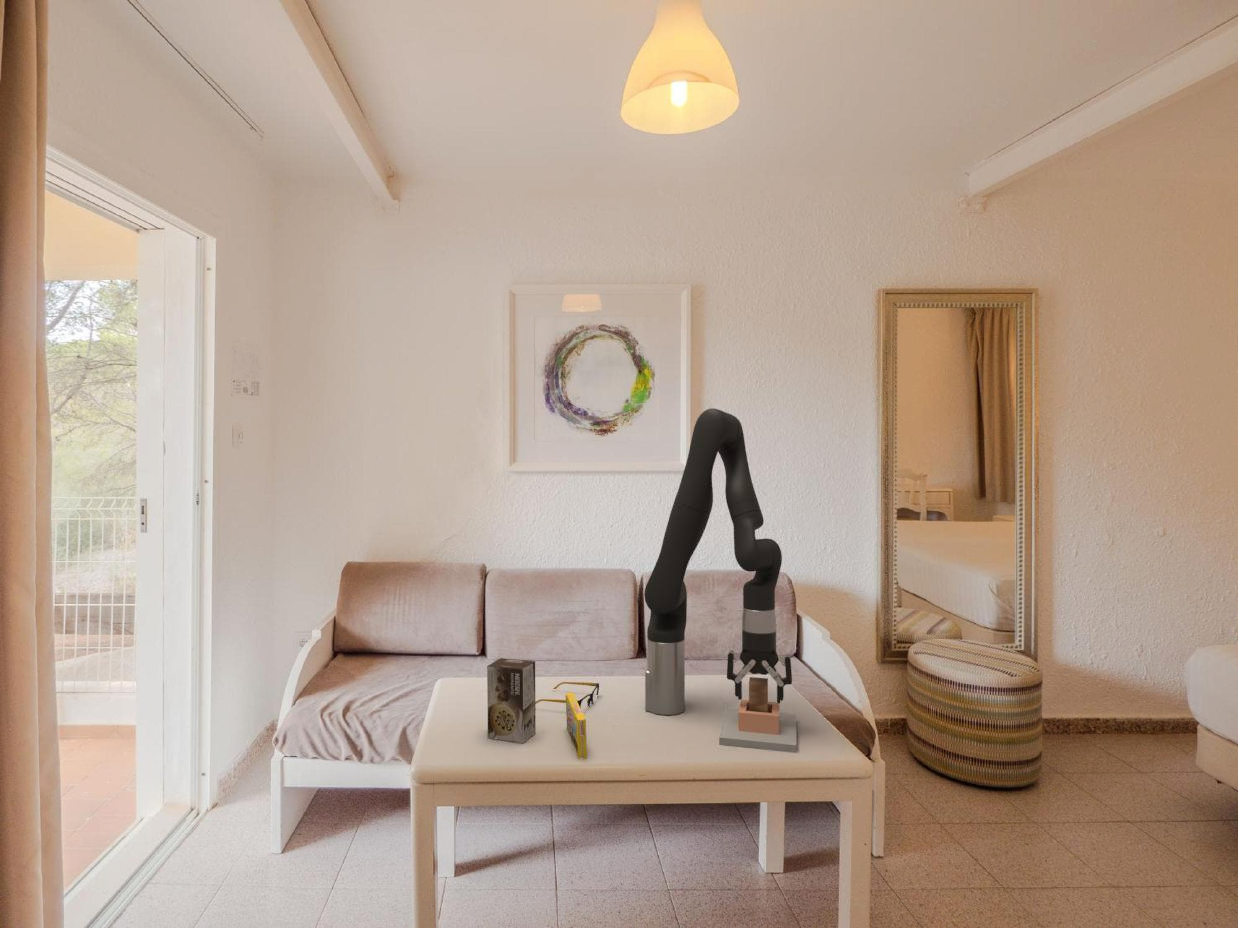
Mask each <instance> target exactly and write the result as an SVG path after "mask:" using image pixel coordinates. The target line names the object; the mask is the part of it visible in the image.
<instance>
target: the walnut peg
mask: <svg viewBox="0 0 1238 928" xmlns="http://www.w3.org/2000/svg"><path fill="white" fill-rule="evenodd" d="M748 700H749V711H754V712H765V713H768V702H769V678H767V677H756V676H754V677H753V676H750V677H749V679H748Z"/></svg>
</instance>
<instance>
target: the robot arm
mask: <svg viewBox="0 0 1238 928" xmlns="http://www.w3.org/2000/svg"><path fill="white" fill-rule="evenodd" d="M744 435H745V434H744V429H743V425H742V423H741V421H740V420H739V419H738V417H737V416H735V415H733V414H731V413H728V412H726V411H723V410H721V409H718V408H708V409H706V410H704V411H702V412H701V413H700V414H699V416H698V418H697V419H696V421H695V424H694V427H693V430H692V437H691V441H690V446H689V449H688V455H687V459H686V463H685V466H684V470H683V473H682V476H681V479H680V483H679V486H678V489H677V492H676V495H675V498H674V501H673V504H672V507H671V510H670V513H669V517H668V520H667V524H666V528H665V533H664V536H663V539H662V544H661V547H660V548H661V549H660V552H659V555H658V558H657V560H656V562H655V564H654V568H653V570H652V572H651V574H650V575H649V578H648V580H647V583H646V585H645V587H644V594H643V595H644V601H645V604H646V606H647V607H648V609H649V610H650V616H649V622H648V626H647V632H646V636H647V637H646V639H647V642H646V645H647V649H646V651H647V656H646V658H647V659H646V660H647V661H646V662H647V668H646V670H645V675H644V678H645V679H644V680H645V682H644V685H645V686H644V688H645V689H644V690H645V691H644V692H645V695H644V697H645V700H644V701H645V702H644V703H645V704H644V705H645V707H644V708H645V712H651V713H653V714H657V715H661V716H663V715H664V716H672V715H679V714H681V713H684V711H685V710H686V709H685V705H686V704H685V703H686V700H685V698H686V696H685V692H686V690H685V689H686V687H685V686H686V683H685V682H686V681H685V679H686V678H685V677H686V676H685V675H686V674H685V673H686V671H685V669H686V667H685V665H686V662H685V661H686V659H685V657H686V656H685V653H686V652H685V644H686V643H685V632H686V626H687V613H688V612H687V611H688V610H687V607H688V605H687V603H688V600H687V599H688V597H687V596H688V594H687V593H688V592H687V591H688V590H687V586H686V583H685V581H684V578H685V575H686V571H687V568H688V566H689V563H690V560H691V558H692V556H693V554H694V553H695V550H696V549H697V546H698V545H699V544H700V541H701V539H702V537H703V535H704V533H705V530H706V528H707V525H708V522H709V519H710V516H711V513H712V509H713V505H714V504H713V503H714V492H713V491H714V489H713V488H714V487H713V469H714V465H715V462H716V458H717V455H718V454H719V456H720V458H721V461H722V463H723V468H724V471H725V500H726V506H727V509H728V513H729V516H730V520H731V522H732V526H733V552H734V557H735V560H736V562H737V564H738V565H739V567H740V568H741V569H742V570H743V571H746V572H755V574H754V576H753V578H751V579H750V580H748V581H746V582H745V583H744V585H743V587H742V588H743V589H742V602H743V603H742V606H743V607H742V615H741V631H742V632H741V652H734V650H730V651H729V652H728V654H727V668H726V678H727V680H729V681H732V682H734V696H735V697H737V699H738V700H739V701H741V699H742V698H743V697H742V696H743V690H742V689H743V685H742V682H743V681H742V680H743V679H744V678H745V677H746V675H748V673H751V674H752V675H757V674H758V675H759V674H760V675H763V676H766V675H768V674H769V675H770V677H771V679H773V680H774V681H775V683H776V703H779V704H781V701H783V700H784V694H785V693H784V687H785V686H787V685H792V683H793V675H792V662H791V661H792V660H791V659H792V658H791V655H790V654H785V655H778V652H777V627H778V625H777V617H776V606H775V605H776V597H775V596H776V591H775V590H776V588H777V583H778V580H779V576H780V571H781V568H782V563H783V554H782V550H781V547H780V545H779V544H778V542H777V541H775V540H774V539H772V538H758V539H757V537H756V530H758V529H760V528H761V527H762V526H763V525H764V515H763V513H762V510H761V507H760V504H759V500H758V497H757V494H756V491H755V488H754V485H753V480H752V476H751V472H750V467H749V461H748V455H747V454H748V453H747V449H746V443H745V442H746V441H745V436H744ZM738 659H740V661H741V662H742V664H743V666H742V667H741V668H740V670H739V671H738V672H737V673H735V672H734V665H735V663H736V662H737V661H738ZM778 662H780V664H781V665H782V667H785V677H782V676H781V674H780V672H779V671H778V670H777V668H776V666H777V664H778ZM742 700H743V699H742Z"/></svg>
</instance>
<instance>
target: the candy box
mask: <svg viewBox="0 0 1238 928" xmlns="http://www.w3.org/2000/svg"><path fill="white" fill-rule="evenodd" d="M565 700H566V703H565V712H566V713H565V714H566V715H565V716H566V717H565V718H566V729H567V731H568V734H569V736H570V739H571V742H572V745H573V747H574V749H576V750H575V752H576V754H578V755H577V757H578V759H579V760H581V759H580V758H585V759H587V758H588V748H587V746H588V744H587V721H586V719H587V718H586V717H585V714H584V712H583V711H582V710H583V709H581V708H580V706H579V704H578V702H577V701H578V700H577V698H576V696H575V694H574V692H570V693H569V692H568V693H566V694H565Z"/></svg>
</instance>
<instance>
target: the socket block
mask: <svg viewBox="0 0 1238 928" xmlns="http://www.w3.org/2000/svg"><path fill="white" fill-rule="evenodd" d="M738 708H739V709H738ZM738 708H726V711H725V715H724V719H723V723H722V726H721V730H720V732H719V738H718V741H719V742H718V744H719V745H721V746H722V745H723V746H730V747H731V746H732V747H739V748H740V747H741V748H750V749H757V750H758V749H760V750H766V751H767V750H768V751H778V752H779V751H780V752H786V751H787V752H788V753H797V750H798V749H797V748H798V747H797V714H795V713H794V714H793V713H785V712H784V713H783V712H782V713H781V712H780V703H777V701H776V702H775V701H768V713H765V712H754V711H749V699H748V700H747V699H741V700H740V703H739V707H738ZM787 752H786V753H787Z"/></svg>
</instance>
